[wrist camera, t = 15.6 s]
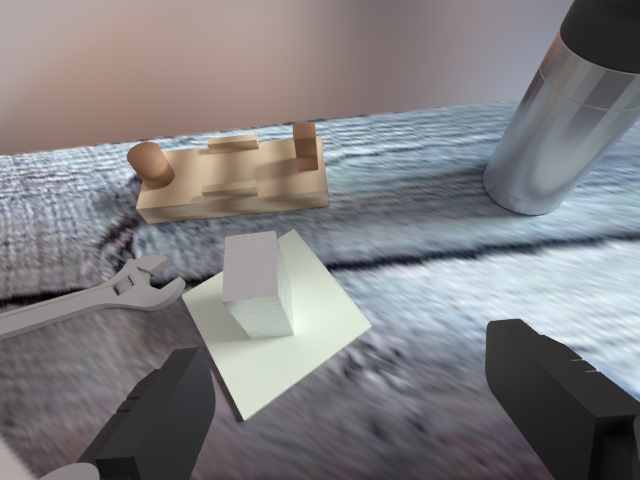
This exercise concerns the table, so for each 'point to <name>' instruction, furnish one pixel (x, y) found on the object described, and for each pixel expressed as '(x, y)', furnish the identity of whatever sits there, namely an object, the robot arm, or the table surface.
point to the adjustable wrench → (99, 297)
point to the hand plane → (231, 177)
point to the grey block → (257, 285)
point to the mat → (280, 352)
